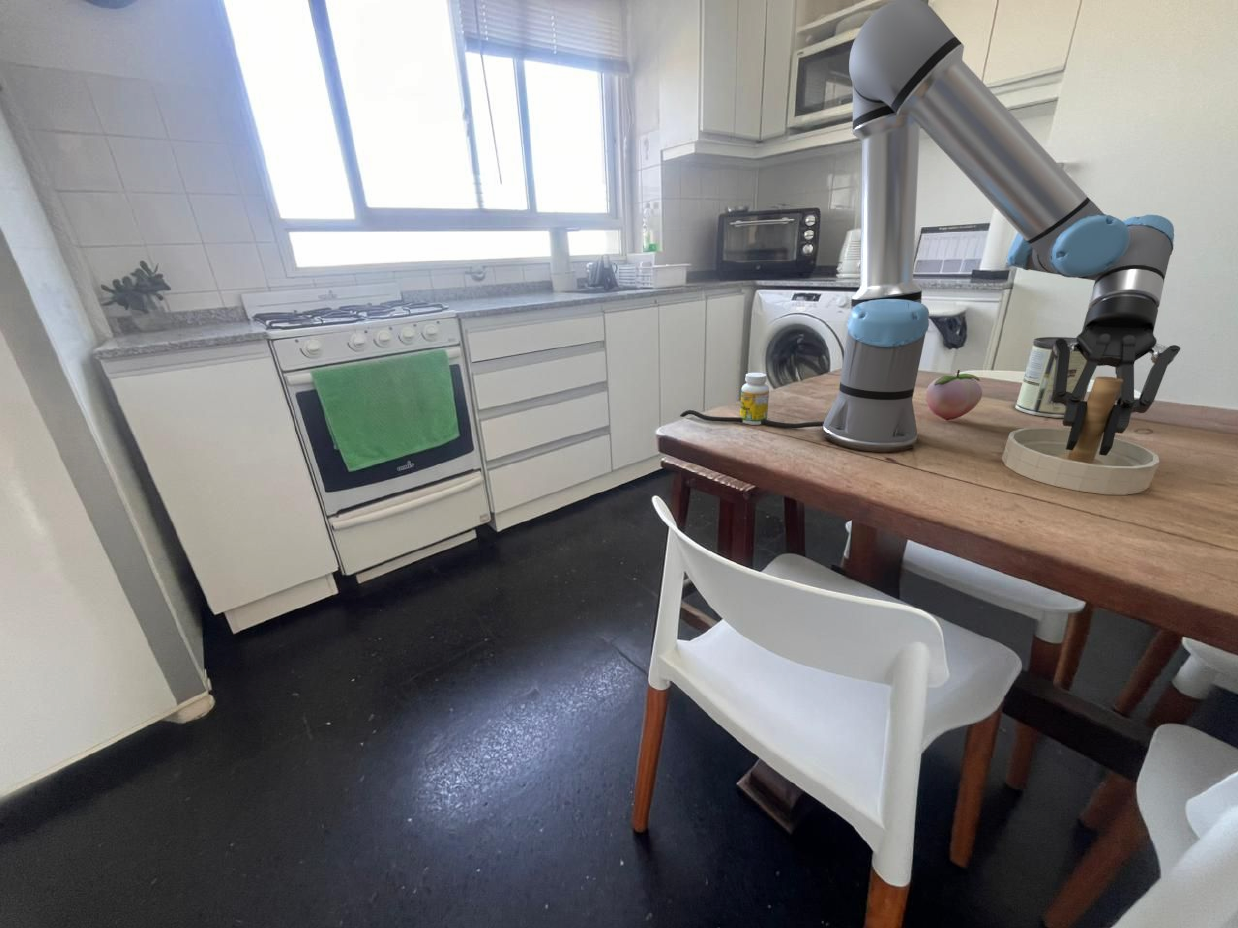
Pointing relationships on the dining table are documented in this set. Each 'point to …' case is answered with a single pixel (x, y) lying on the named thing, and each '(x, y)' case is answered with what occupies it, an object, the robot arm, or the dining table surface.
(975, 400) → the decorative fruit
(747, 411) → the supplement bottle
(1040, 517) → the dining table surface
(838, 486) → the dining table surface
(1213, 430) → the dining table surface
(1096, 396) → the muddler
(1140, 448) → the bowl
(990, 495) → the dining table surface
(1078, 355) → the coffee can
